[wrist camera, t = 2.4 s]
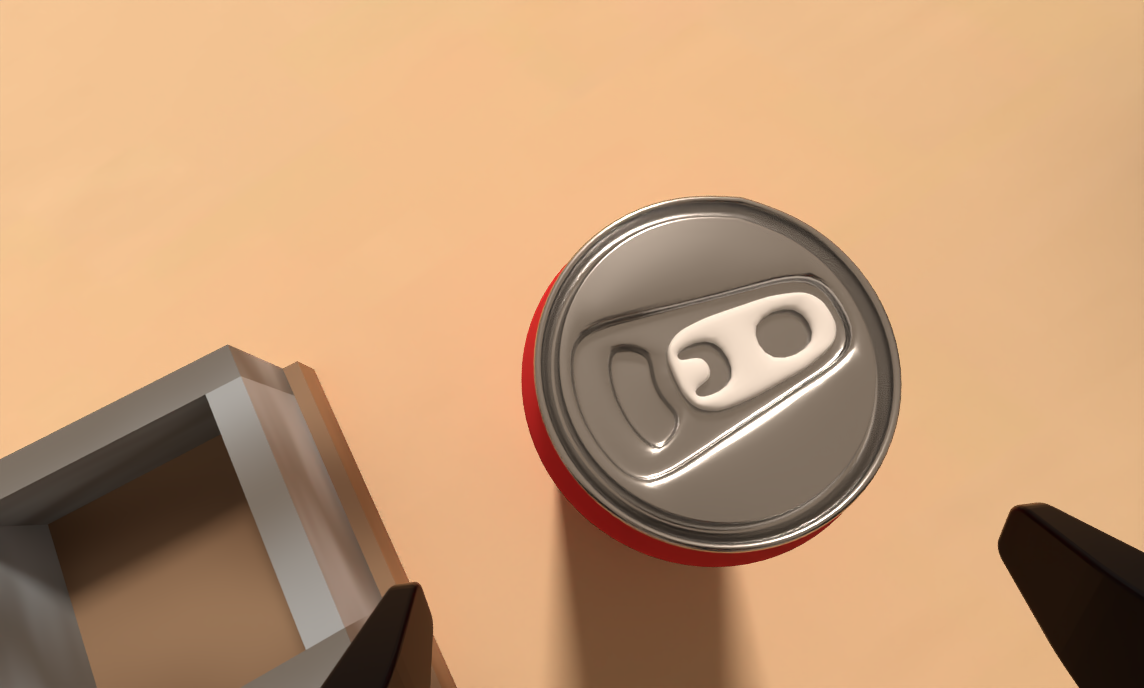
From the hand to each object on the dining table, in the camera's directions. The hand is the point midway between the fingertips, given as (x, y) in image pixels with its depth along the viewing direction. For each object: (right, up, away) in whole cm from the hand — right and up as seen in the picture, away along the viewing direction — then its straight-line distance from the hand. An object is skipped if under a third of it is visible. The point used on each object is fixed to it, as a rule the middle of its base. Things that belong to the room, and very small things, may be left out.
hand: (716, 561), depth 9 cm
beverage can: (0, 0, +10) cm, 10 cm away
